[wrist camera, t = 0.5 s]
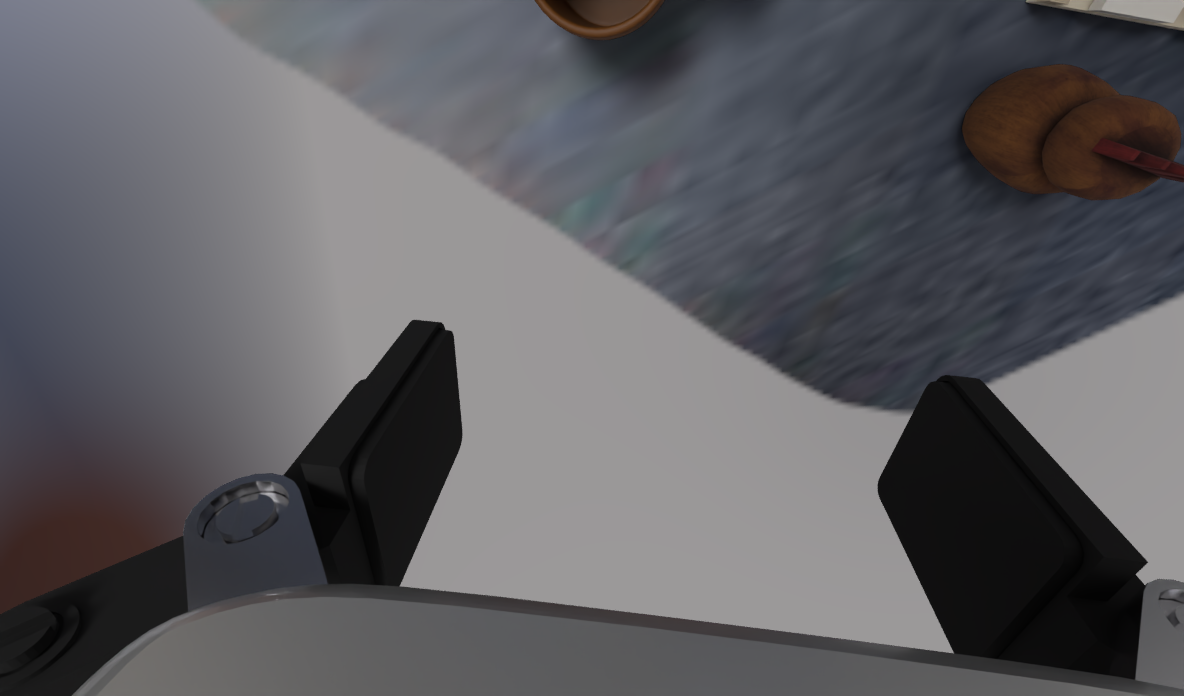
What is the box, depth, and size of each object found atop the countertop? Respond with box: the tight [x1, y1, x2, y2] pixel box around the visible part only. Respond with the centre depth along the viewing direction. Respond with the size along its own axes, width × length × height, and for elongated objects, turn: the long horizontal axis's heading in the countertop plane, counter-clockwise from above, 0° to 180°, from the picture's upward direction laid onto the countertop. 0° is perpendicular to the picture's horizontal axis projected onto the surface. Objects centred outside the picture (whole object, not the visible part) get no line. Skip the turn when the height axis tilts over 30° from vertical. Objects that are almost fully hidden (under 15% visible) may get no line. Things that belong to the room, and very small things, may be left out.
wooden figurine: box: [962, 64, 1184, 200], centre depth 27 cm, size 7×6×15 cm
